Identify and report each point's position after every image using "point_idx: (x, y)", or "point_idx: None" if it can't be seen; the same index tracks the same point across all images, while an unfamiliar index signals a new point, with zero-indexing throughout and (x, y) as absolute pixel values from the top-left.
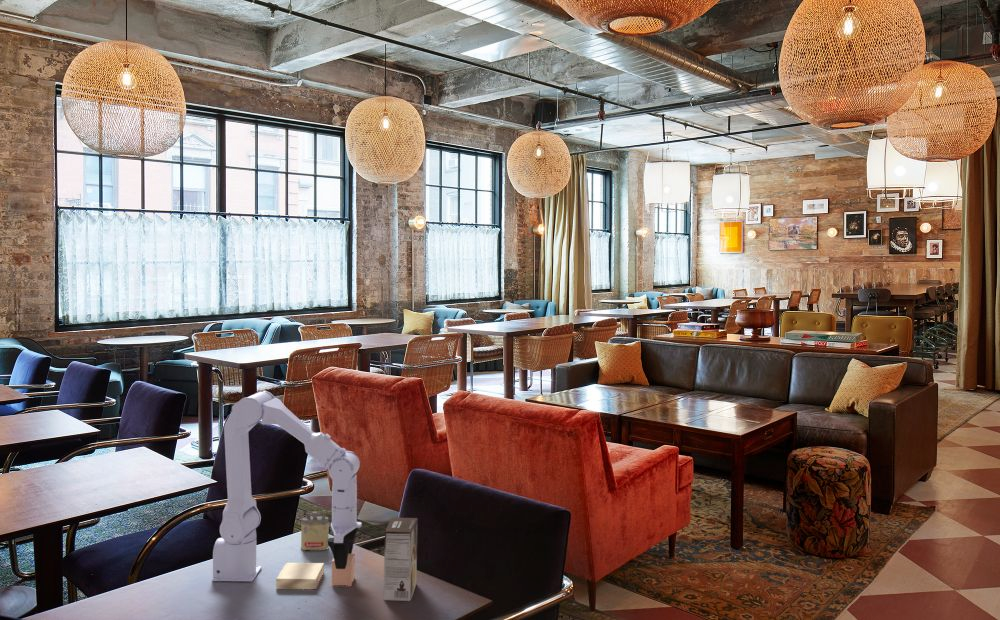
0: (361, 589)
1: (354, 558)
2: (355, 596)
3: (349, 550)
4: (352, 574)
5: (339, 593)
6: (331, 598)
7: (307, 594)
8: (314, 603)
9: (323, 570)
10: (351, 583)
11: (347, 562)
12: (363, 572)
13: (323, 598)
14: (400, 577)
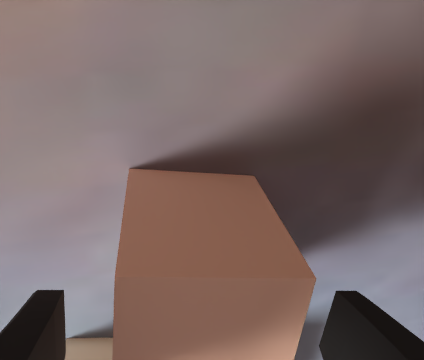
0: (310, 108)
1: (127, 247)
2: (395, 137)
3: (51, 340)
4: (220, 199)
5: (335, 226)
6: (382, 254)
7: (313, 354)
8: (410, 313)
9: (71, 355)
10: (246, 180)
11: (304, 302)
12: (28, 113)
13: (372, 287)
14: None
